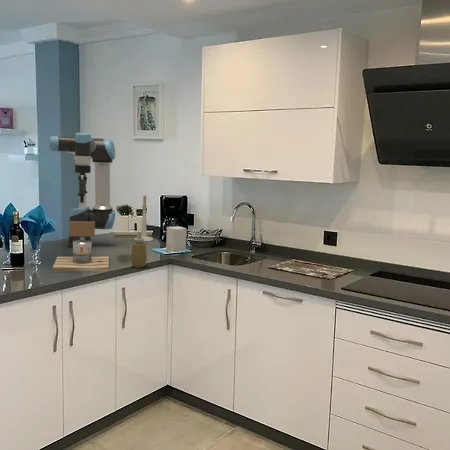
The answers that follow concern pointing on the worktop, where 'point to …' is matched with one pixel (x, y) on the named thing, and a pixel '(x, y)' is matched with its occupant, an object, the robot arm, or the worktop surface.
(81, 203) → the robot arm
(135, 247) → the squeeze bottle
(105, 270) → the base
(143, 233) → the candlestick
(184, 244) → the supplement box
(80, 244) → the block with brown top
